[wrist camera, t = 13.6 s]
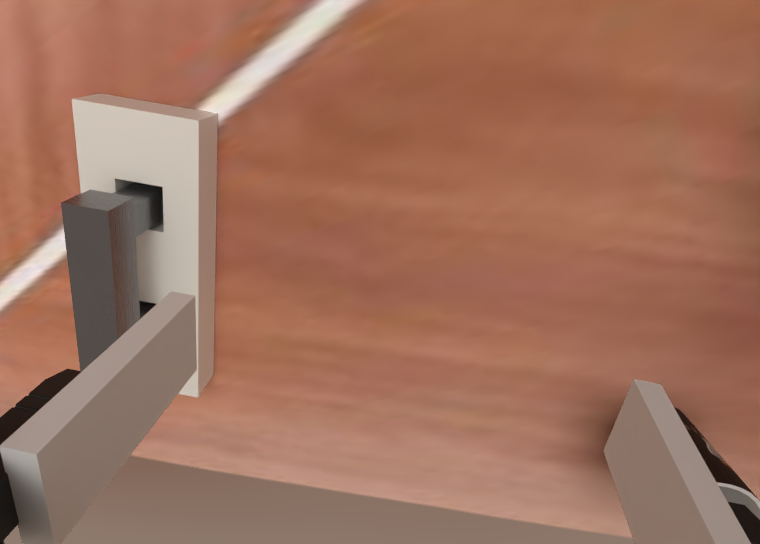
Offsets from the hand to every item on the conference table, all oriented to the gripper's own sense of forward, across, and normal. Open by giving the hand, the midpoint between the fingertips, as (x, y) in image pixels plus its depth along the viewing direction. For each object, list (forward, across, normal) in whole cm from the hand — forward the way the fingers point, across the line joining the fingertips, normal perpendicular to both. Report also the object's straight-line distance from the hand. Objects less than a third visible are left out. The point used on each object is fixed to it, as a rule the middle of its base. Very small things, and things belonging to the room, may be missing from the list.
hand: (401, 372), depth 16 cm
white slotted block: (+25, -21, -10) cm, 35 cm away
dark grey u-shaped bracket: (+25, -21, -10) cm, 35 cm away
